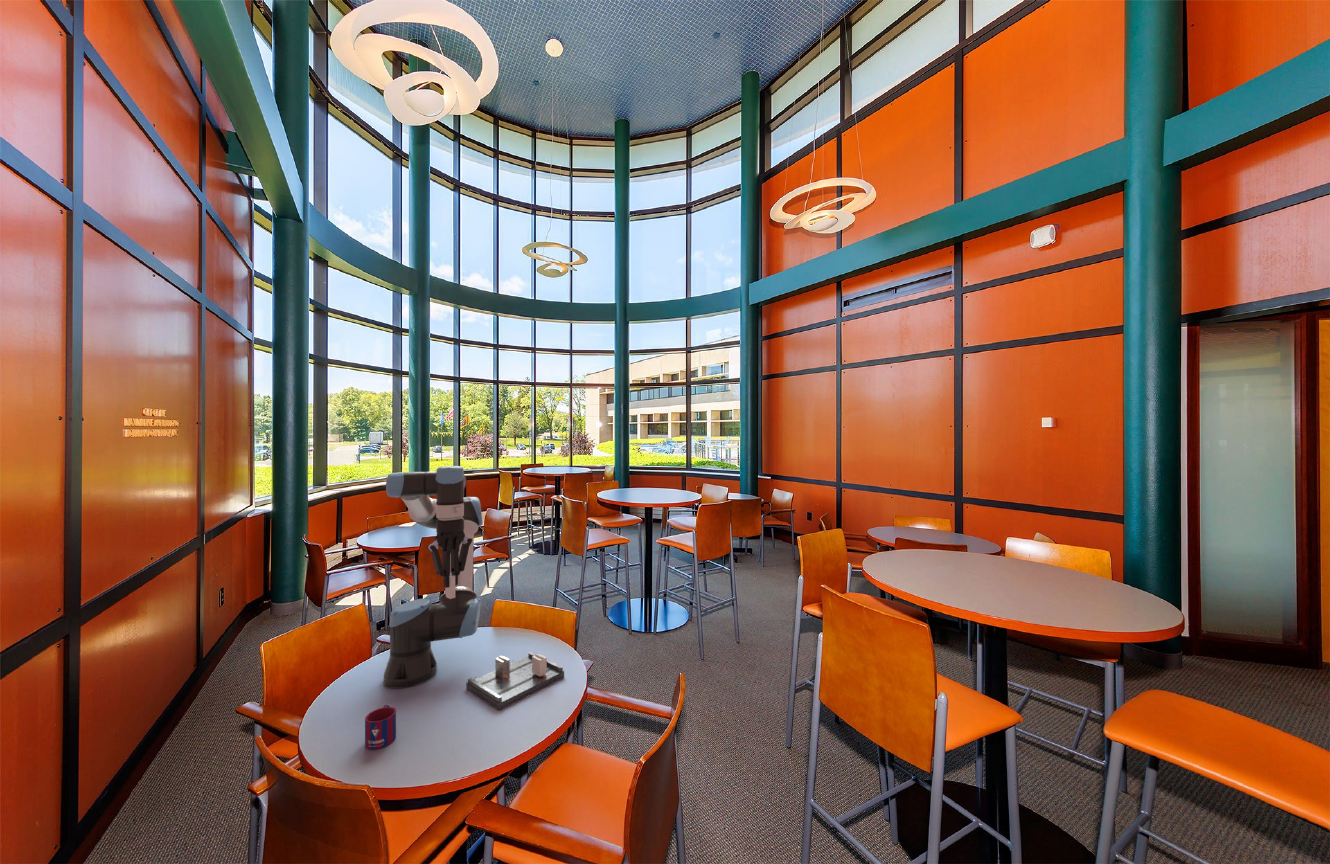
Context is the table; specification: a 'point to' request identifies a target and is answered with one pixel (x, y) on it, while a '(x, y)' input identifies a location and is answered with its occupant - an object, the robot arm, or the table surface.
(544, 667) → the fader tab
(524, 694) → the console
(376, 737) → the mug
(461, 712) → the table surface
